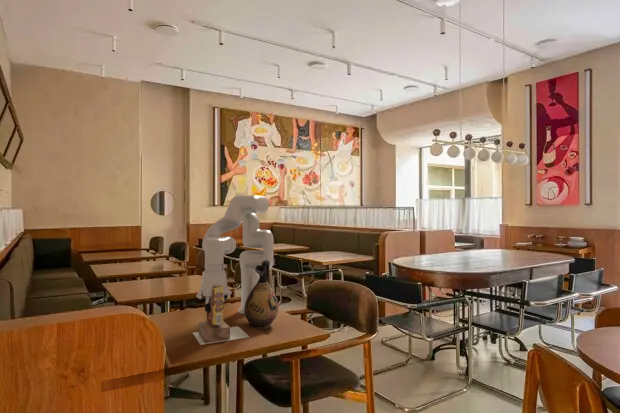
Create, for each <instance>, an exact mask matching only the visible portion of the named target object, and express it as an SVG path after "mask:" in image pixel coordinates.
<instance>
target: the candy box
mask: <svg viewBox="0 0 620 413" xmlns="http://www.w3.org/2000/svg"><path fill="white" fill-rule="evenodd" d="M223 296H224V295H223V287H222V286H217V287H212V296H210V298H209V304H210V313H209V314H208V313H207V312H206V311H205V321H208V322H209V323H211V324H213V325H219V324H223V320H224V309H223Z"/></svg>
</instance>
